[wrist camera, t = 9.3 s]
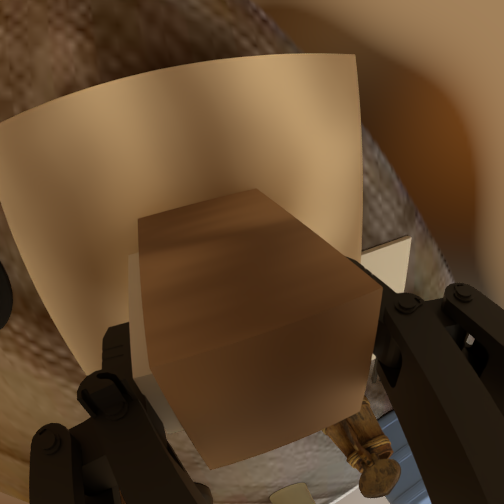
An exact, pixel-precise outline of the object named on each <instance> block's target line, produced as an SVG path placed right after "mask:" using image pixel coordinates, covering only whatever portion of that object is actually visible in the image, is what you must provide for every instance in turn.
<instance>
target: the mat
mask: <svg viewBox="0 0 504 504" xmlns="http://www.w3.org/2000/svg"><path fill="white" fill-rule="evenodd" d="M410 245H411V237H410V236H405V237H402V238H399V239H397V240H394V241H391V242H388V243H385V244H382V245H379V246H376V247H374V248H371V249H368V250H365V251H362V252H361V265H363V266H364V267H365V269H368V270H369V271H370V272H371V273H372V275H373V274H374V275H375V276H376V277H378V278H379V279H380V280H381V281H382V282H384V283H385V284H386V285H387V286H389V287H390V288H391V289H392V290H393V291H395V292H396V293H404V287H405V281H406V275H407V268H408V261H409V253H410ZM375 358H376V356H375V355H374V354H372V360H374V359H375ZM372 360H371V361H372Z"/></svg>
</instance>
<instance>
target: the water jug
mask: <svg viewBox="0 0 504 504" xmlns="http://www.w3.org/2000/svg"><path fill="white" fill-rule="evenodd" d="M378 423H379V425H380V427H381V429H382V431H383V433H384V434H385V435H386V436H387V437H388V439H389V440H390V442H391V447H392V449H393V454H392V455H391V457H390V458H389V459H394V460H396V461H397V462H398V463H399V465H400V467H401V475H400V478H399V480H398V482H397V484H396V485H395V487H394V488H393V490H392V491H391V492H390V493H389V495H386V496H385V497H386V498H387V500H388V501H389V502H390V504H431V501H430V498H429V496H428V493H427V490H426V487H425V485H424V482H423V480H422V477H421V474H420V472H419V469H418V467H417V464H416V462H415V459H414V457H413V454H412V452H411V449H410V447H409V444H408V442H407V439H406V437H405V435H404V432H403V430H402V428H401V425H400V423H399V420H398V418H397V416H396V413H395V411H394V410H393V411H392V412H390V413H388V414H386V415H385V416H383V417H382V418H380V419H379V420H378Z"/></svg>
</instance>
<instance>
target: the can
mask: <svg viewBox="0 0 504 504" xmlns="http://www.w3.org/2000/svg"><path fill="white" fill-rule="evenodd" d="M269 499H270V500H271V502H272V504H316V503H315V501H314V500H313V498H312V496H311V494H310V492H309V490H308V488H307V486H306V484H305V483H297V484H293V485H290V486H287V487H285V488H282V489H280V490H278V491H277V492H275V493H273V494H272V495H271V496H270V498H269Z"/></svg>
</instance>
